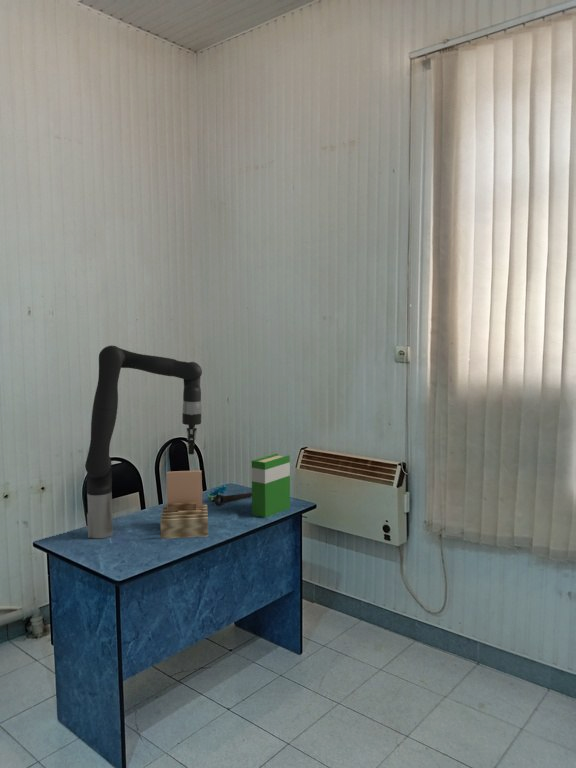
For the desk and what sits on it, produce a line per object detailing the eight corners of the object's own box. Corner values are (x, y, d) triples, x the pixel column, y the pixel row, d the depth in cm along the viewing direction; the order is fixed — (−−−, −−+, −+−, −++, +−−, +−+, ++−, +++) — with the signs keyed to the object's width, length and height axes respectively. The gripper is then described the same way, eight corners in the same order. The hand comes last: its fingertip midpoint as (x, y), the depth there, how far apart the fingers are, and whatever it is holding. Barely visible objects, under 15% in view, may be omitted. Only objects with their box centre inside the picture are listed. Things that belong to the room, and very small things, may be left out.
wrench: (267, 500, 307) (216, 508, 287) (261, 498, 311) (210, 506, 291) (268, 489, 307) (217, 496, 287) (261, 487, 311) (210, 495, 291)
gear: (221, 492, 307) (228, 481, 300) (228, 502, 305) (235, 491, 298) (202, 500, 300) (209, 489, 293) (208, 510, 298) (215, 499, 291)
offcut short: (178, 532, 251) (178, 512, 251) (178, 530, 253) (178, 510, 253) (201, 531, 253) (201, 511, 252) (201, 529, 255) (201, 509, 254)
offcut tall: (168, 529, 255) (168, 504, 254) (168, 527, 257) (168, 503, 256) (196, 527, 257) (196, 503, 255) (196, 526, 259) (196, 502, 257)
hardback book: (276, 505, 292) (276, 453, 289) (289, 508, 288) (289, 455, 285) (252, 514, 278) (251, 460, 275) (265, 518, 274) (264, 463, 271)
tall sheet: (167, 525, 259) (166, 472, 257) (168, 524, 261) (166, 471, 259) (202, 524, 261) (201, 471, 259) (202, 522, 263) (201, 470, 260)
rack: (160, 542, 244) (160, 520, 244) (163, 526, 263) (162, 506, 262) (208, 539, 247) (207, 518, 246) (207, 524, 266) (207, 504, 265)
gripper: (182, 409, 262) (182, 448, 264) (181, 414, 248) (181, 455, 250) (201, 409, 263) (200, 448, 265) (201, 414, 249) (200, 455, 251)
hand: (191, 451), depth 257 cm, fingers open, 8 cm apart
